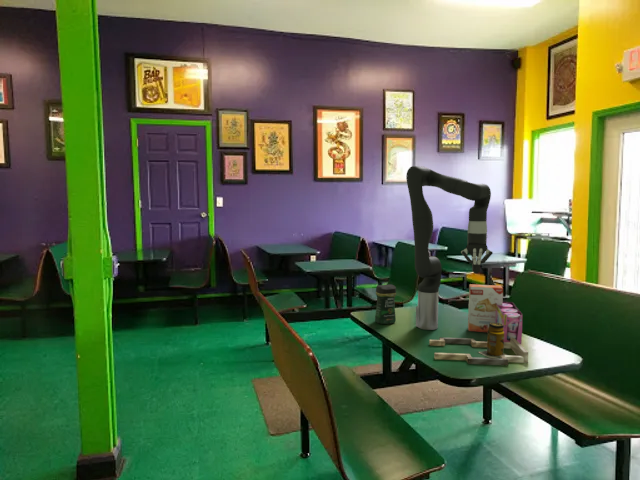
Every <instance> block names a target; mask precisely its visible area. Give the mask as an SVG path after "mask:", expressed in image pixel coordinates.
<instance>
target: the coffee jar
mask: <svg viewBox="0 0 640 480" xmlns="http://www.w3.org/2000/svg"><path fill="white" fill-rule="evenodd" d="M396 295H397V287H396V286H395V285H393V284H380V285H379V284H378V285H377V286H376V289H375V296H376V306H375V307H376V308H375V315H374V316H375V317H374V321H375V322H376V323H377V324H380V325H388V324H395V322H396V307H395V306H396V305H395V300H396Z"/></svg>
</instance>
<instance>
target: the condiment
mask: <svg viewBox="0 0 640 480" xmlns="http://www.w3.org/2000/svg"><path fill="white" fill-rule="evenodd" d="M503 327H504V326H503V324H501V323H490V324H489V330H488V332H487V338H486V339H487V341H486V342H487V348H486V350H482V351H478V353H479V354H481V355H482V356H485V357H486V358H500V355H508V354H507V353H505V352H504V349H505V348H504V331H503V330H504V329H503Z"/></svg>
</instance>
